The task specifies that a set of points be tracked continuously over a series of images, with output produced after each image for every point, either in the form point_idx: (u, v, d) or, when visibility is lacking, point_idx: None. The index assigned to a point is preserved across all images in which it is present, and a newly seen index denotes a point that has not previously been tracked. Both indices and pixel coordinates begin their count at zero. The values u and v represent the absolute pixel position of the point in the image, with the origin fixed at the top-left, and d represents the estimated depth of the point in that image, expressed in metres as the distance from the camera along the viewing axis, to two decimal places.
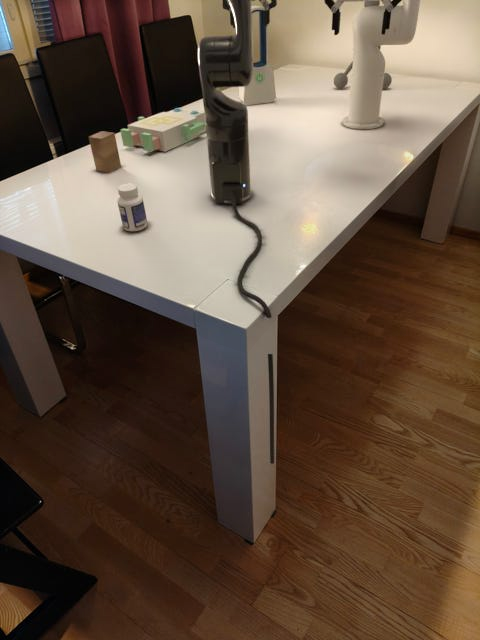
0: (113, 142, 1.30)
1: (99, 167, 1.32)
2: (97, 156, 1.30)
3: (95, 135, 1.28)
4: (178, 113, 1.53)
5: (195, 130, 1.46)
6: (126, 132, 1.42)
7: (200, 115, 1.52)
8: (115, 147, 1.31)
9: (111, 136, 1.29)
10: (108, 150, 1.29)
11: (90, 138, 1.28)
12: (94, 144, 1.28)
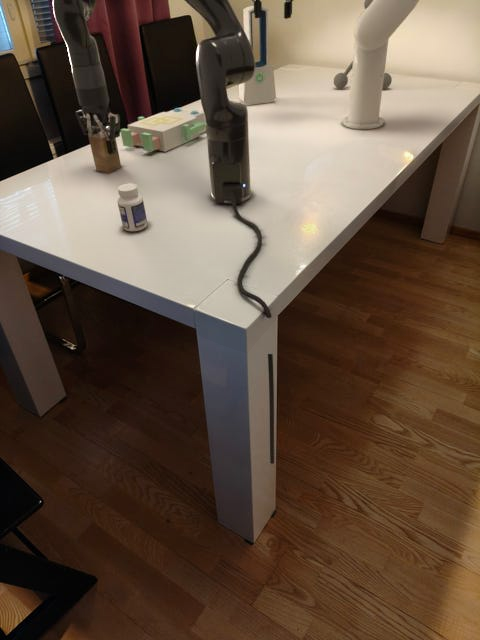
0: None
1: (99, 167, 1.32)
2: (97, 156, 1.30)
3: (95, 135, 1.28)
4: (178, 113, 1.53)
5: (195, 130, 1.46)
6: (126, 132, 1.42)
7: (200, 115, 1.52)
8: None
9: None
10: None
11: (90, 138, 1.28)
12: (94, 144, 1.28)
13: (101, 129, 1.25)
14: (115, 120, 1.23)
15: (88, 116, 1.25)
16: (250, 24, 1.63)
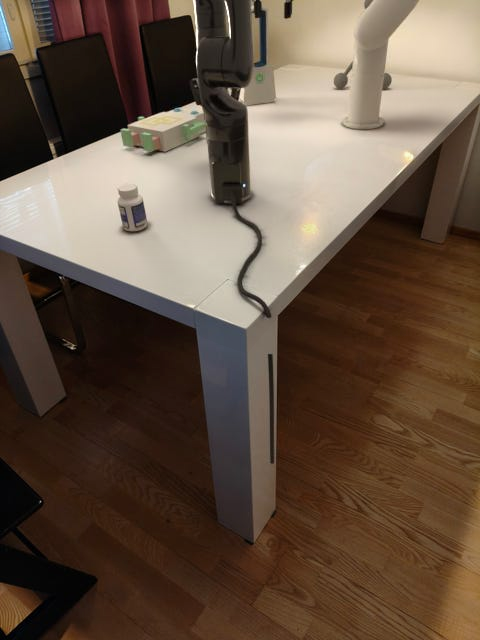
0: None
1: None
2: None
3: None
4: (178, 113, 1.53)
5: (195, 130, 1.46)
6: (126, 132, 1.42)
7: (200, 115, 1.52)
8: None
9: None
10: None
11: None
12: None
13: None
14: None
15: None
16: None
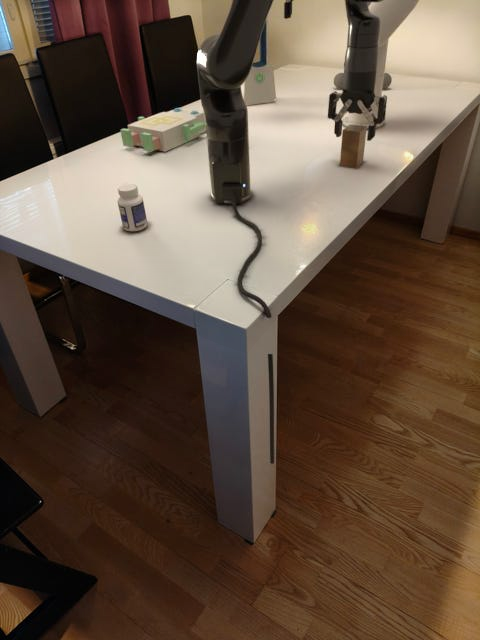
0: (364, 136, 1.24)
1: (345, 162, 1.26)
2: (347, 150, 1.24)
3: (348, 128, 1.22)
4: (178, 113, 1.53)
5: (195, 130, 1.46)
6: (126, 132, 1.42)
7: (200, 115, 1.52)
8: (364, 141, 1.25)
9: (364, 129, 1.23)
10: (360, 145, 1.23)
11: (344, 131, 1.22)
12: (348, 138, 1.22)
13: (366, 114, 1.18)
14: (384, 101, 1.15)
15: (349, 102, 1.18)
16: None
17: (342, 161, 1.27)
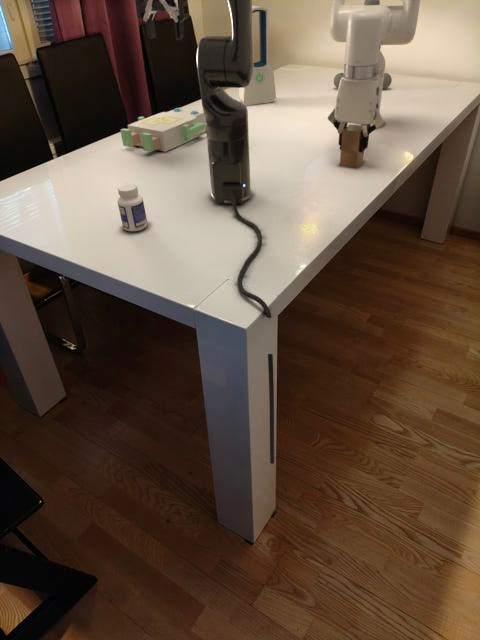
0: None
1: (345, 162, 1.26)
2: (347, 150, 1.24)
3: (348, 128, 1.22)
4: (178, 113, 1.53)
5: (195, 130, 1.46)
6: (126, 132, 1.42)
7: (200, 115, 1.52)
8: None
9: None
10: None
11: (344, 131, 1.22)
12: (348, 138, 1.22)
13: (168, 9, 1.15)
14: None
15: None
16: None
17: (342, 161, 1.27)
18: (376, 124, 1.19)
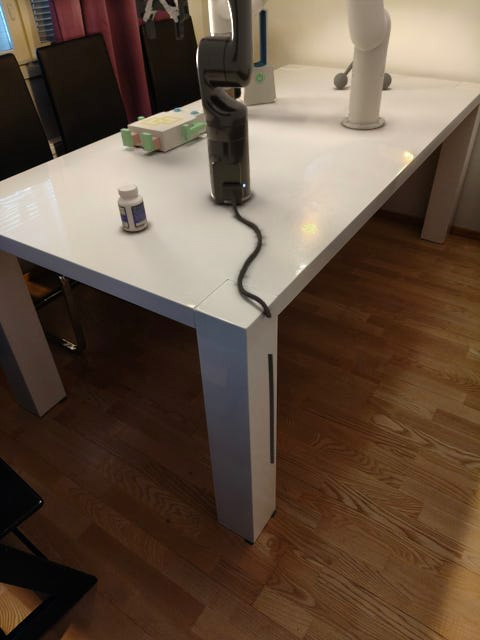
0: None
1: None
2: None
3: None
4: (178, 113, 1.53)
5: (195, 130, 1.46)
6: (126, 132, 1.42)
7: (200, 115, 1.52)
8: (234, 98, 1.66)
9: (233, 88, 1.64)
10: None
11: None
12: None
13: (168, 9, 1.15)
14: None
15: None
16: None
17: None
18: None
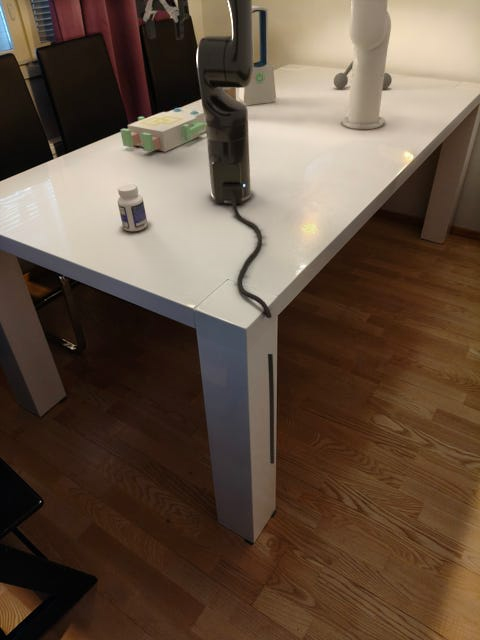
0: (234, 93, 1.65)
1: None
2: None
3: None
4: (178, 113, 1.53)
5: (195, 130, 1.46)
6: (126, 132, 1.42)
7: (200, 115, 1.52)
8: (234, 98, 1.66)
9: (233, 88, 1.64)
10: None
11: None
12: None
13: (168, 9, 1.15)
14: None
15: None
16: None
17: None
18: None
